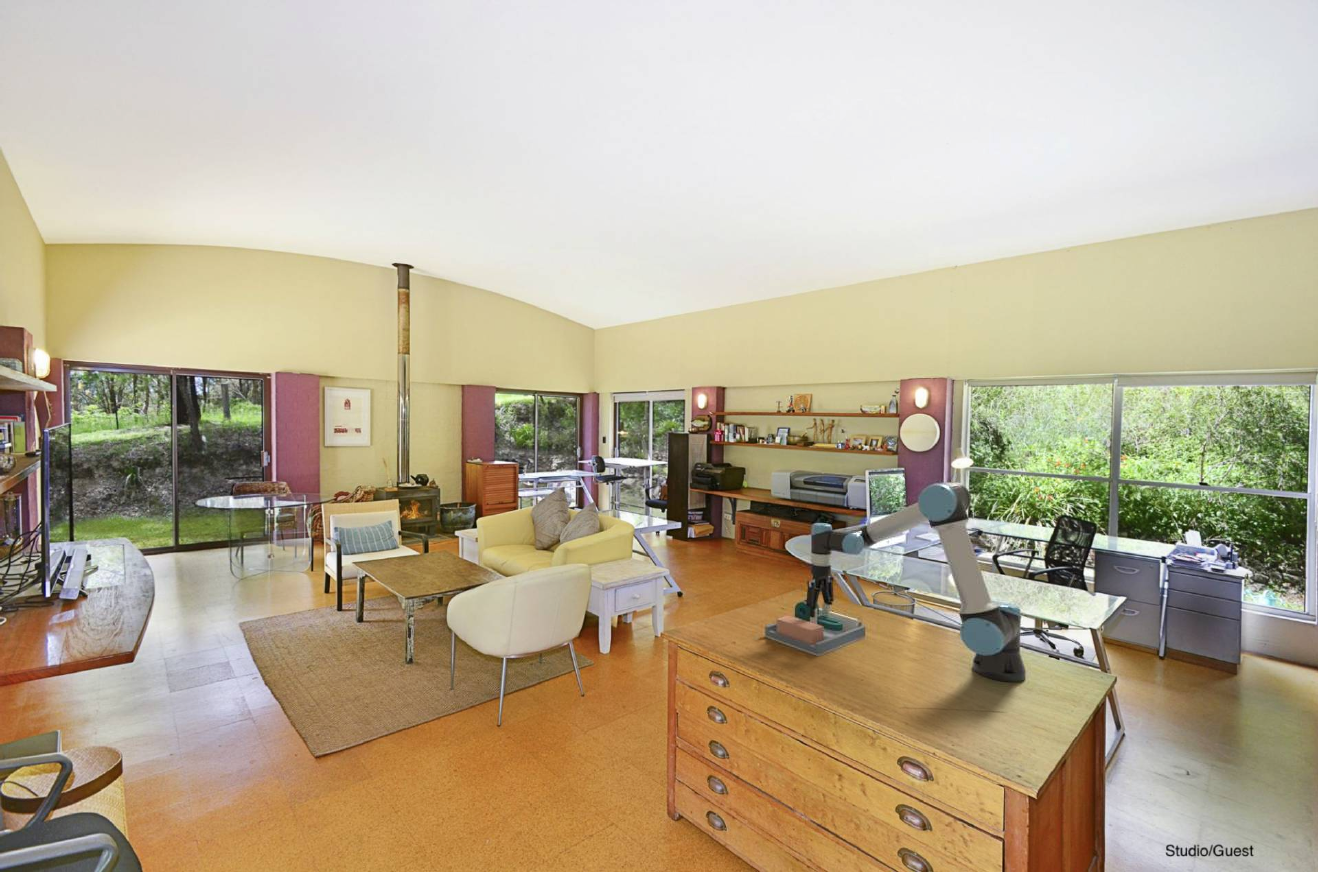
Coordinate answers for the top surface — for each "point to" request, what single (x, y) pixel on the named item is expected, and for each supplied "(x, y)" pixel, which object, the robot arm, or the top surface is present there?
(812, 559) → the robot arm
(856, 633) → the grey tray
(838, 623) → the bracket
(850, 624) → the pusher plate
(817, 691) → the top surface
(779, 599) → the top surface
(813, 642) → the box
